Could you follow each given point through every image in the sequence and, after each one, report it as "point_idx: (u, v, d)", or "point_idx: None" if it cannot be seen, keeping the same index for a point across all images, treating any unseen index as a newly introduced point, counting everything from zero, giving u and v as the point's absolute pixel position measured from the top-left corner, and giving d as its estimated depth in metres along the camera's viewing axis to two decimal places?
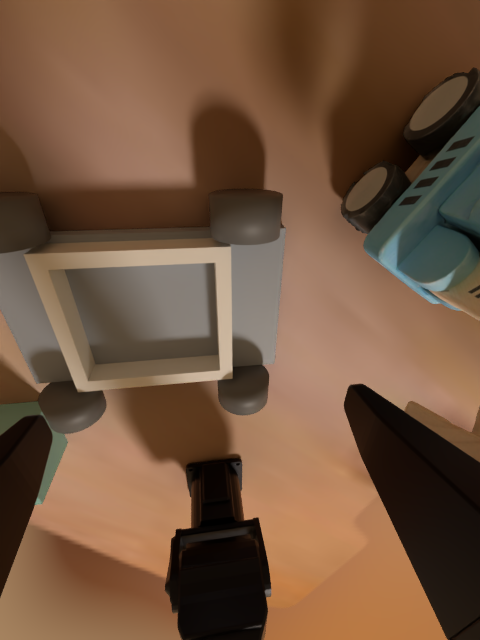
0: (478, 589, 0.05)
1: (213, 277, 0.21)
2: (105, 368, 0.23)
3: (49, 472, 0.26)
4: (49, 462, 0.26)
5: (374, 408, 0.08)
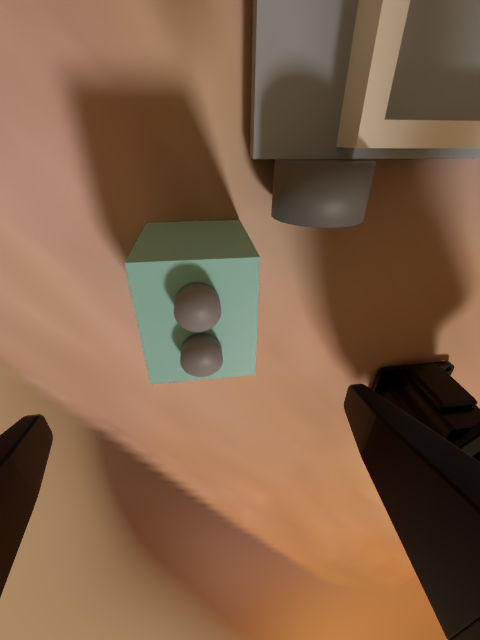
0: (478, 589, 0.05)
1: None
2: None
3: None
4: None
5: (374, 408, 0.08)
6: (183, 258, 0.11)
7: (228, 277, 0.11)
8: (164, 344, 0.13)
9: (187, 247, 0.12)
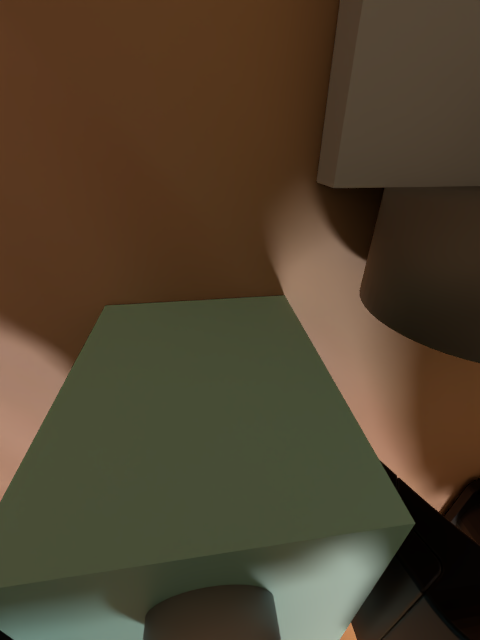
0: (380, 607, 0.05)
1: None
2: None
3: None
4: None
5: None
6: (169, 534, 0.03)
7: (306, 566, 0.04)
8: None
9: (182, 439, 0.04)
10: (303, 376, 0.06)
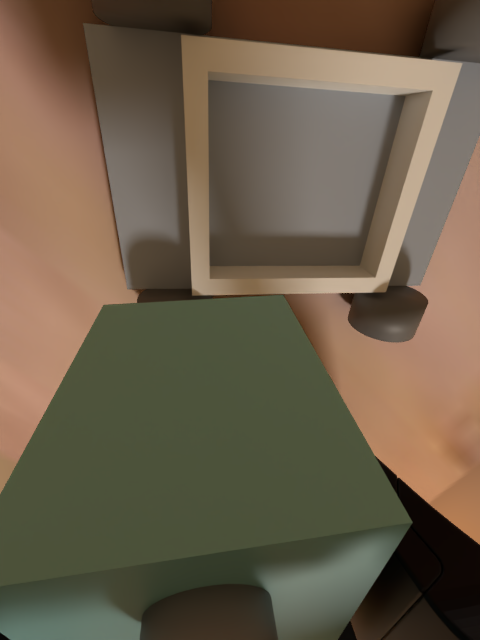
0: (380, 608, 0.05)
1: (392, 139, 0.16)
2: (224, 269, 0.18)
3: None
4: None
5: None
6: (164, 534, 0.03)
7: (304, 565, 0.04)
8: None
9: (178, 439, 0.04)
10: (301, 375, 0.06)
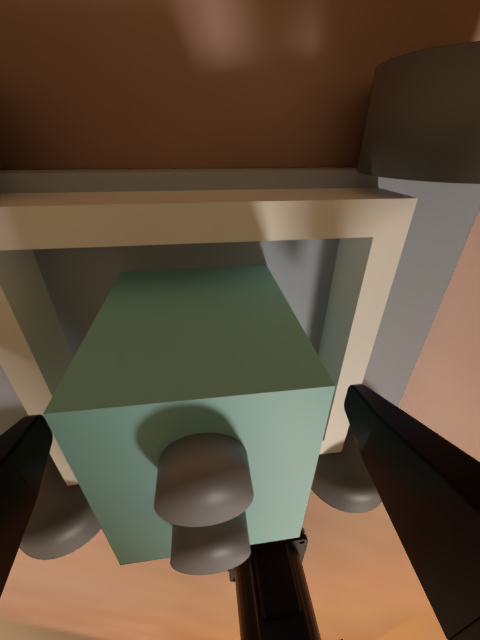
0: (478, 589, 0.05)
1: (330, 272, 0.11)
2: None
3: None
4: None
5: (374, 408, 0.08)
6: (174, 390, 0.05)
7: (267, 421, 0.06)
8: (141, 519, 0.07)
9: (183, 347, 0.06)
10: (274, 314, 0.07)
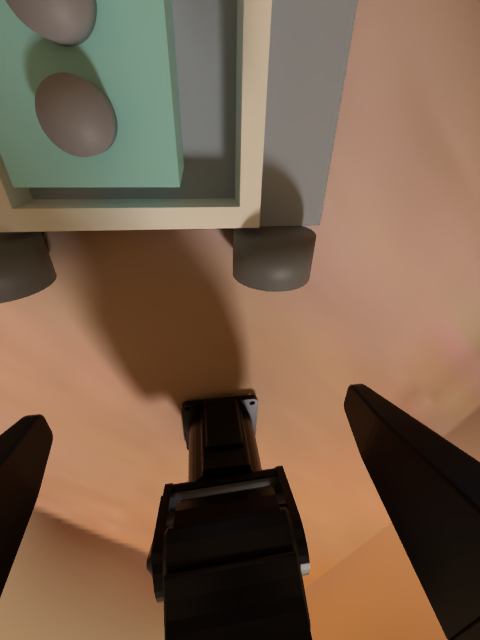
0: (478, 589, 0.05)
1: (234, 8, 0.12)
2: (47, 201, 0.14)
3: (179, 149, 0.11)
4: (178, 126, 0.11)
5: (374, 408, 0.08)
6: None
7: None
8: (17, 96, 0.08)
9: None
10: None
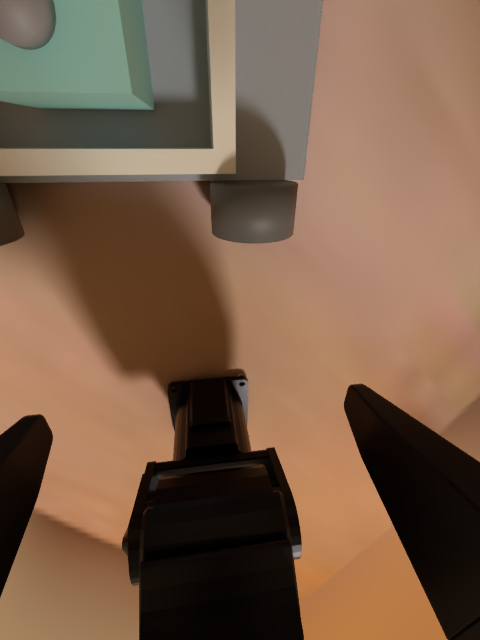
0: (478, 589, 0.05)
1: None
2: None
3: (138, 67, 0.10)
4: (137, 43, 0.10)
5: (374, 408, 0.08)
6: None
7: None
8: None
9: None
10: None
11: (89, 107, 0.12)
